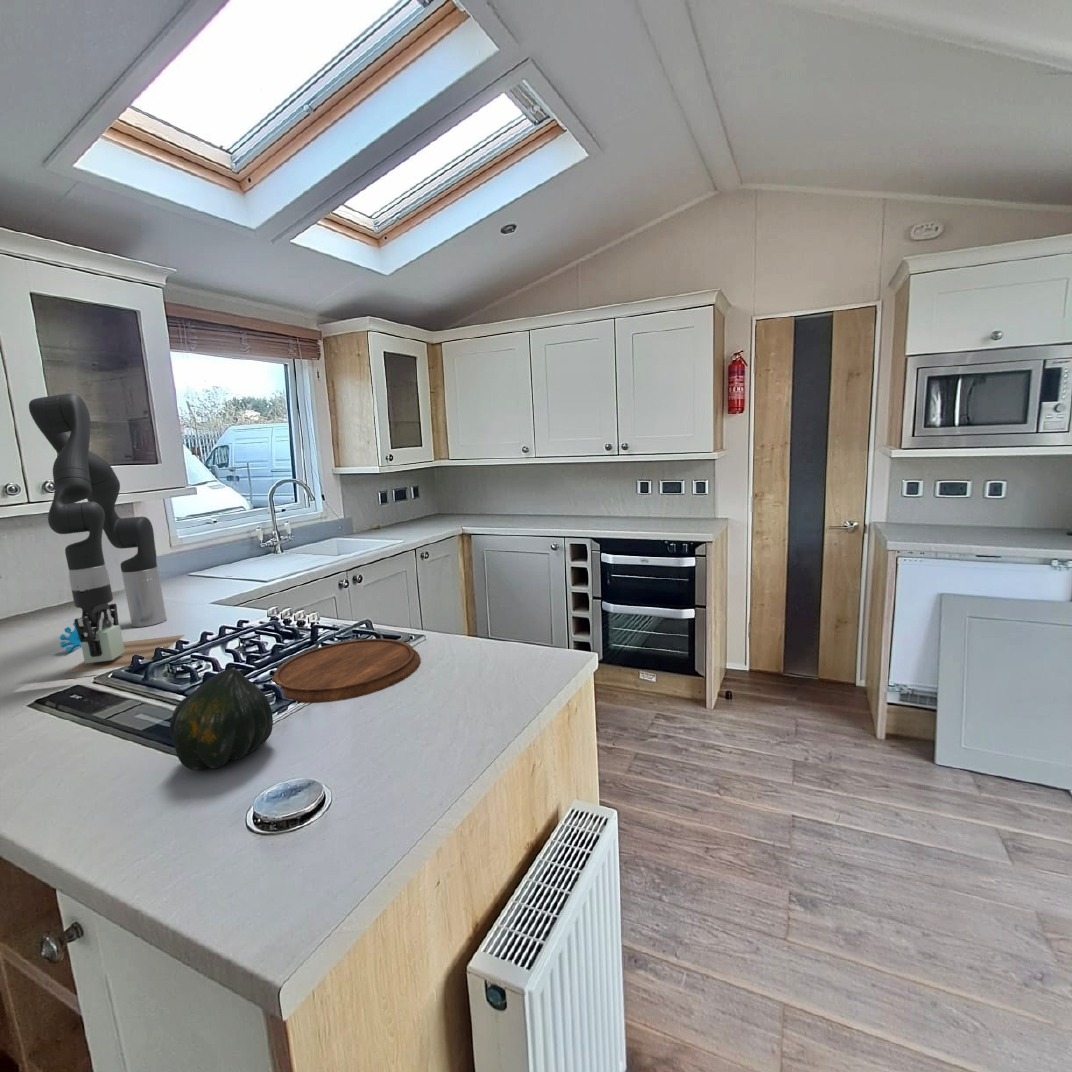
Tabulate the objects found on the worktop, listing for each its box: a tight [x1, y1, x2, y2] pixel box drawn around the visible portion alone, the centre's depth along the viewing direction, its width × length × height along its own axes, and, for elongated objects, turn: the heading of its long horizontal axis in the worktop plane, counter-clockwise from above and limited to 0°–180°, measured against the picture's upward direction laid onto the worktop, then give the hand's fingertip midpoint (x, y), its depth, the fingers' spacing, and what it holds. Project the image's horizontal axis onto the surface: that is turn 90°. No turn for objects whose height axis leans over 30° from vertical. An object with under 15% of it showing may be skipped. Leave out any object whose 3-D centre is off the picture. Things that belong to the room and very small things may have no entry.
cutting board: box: [271, 638, 421, 704], centre depth 130 cm, size 32×32×2 cm
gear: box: [59, 622, 82, 653], centre depth 161 cm, size 11×6×10 cm
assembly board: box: [64, 634, 185, 680], centre depth 149 cm, size 22×18×6 cm
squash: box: [169, 667, 274, 771], centre depth 95 cm, size 14×15×15 cm
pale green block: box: [80, 624, 125, 663], centre depth 144 cm, size 6×6×7 cm
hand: (104, 651), depth 144 cm, fingers closed on pale green block, 6 cm apart
